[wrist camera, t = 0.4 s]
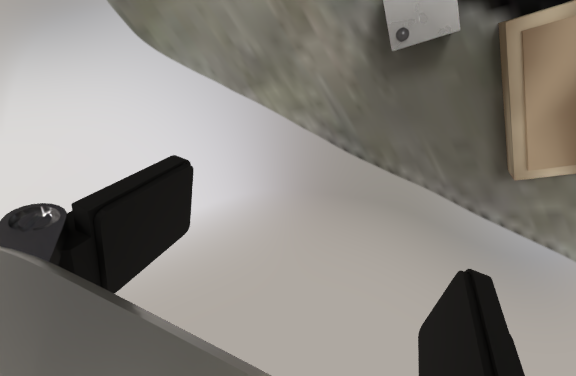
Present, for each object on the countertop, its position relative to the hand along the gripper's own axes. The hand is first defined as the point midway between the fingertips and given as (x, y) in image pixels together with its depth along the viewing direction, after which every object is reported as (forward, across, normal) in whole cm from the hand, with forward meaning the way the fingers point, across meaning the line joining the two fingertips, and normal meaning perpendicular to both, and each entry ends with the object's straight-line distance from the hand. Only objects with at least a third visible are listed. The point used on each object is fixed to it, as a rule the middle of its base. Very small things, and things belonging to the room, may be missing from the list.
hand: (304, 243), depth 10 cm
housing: (+27, -1, -9) cm, 28 cm away
